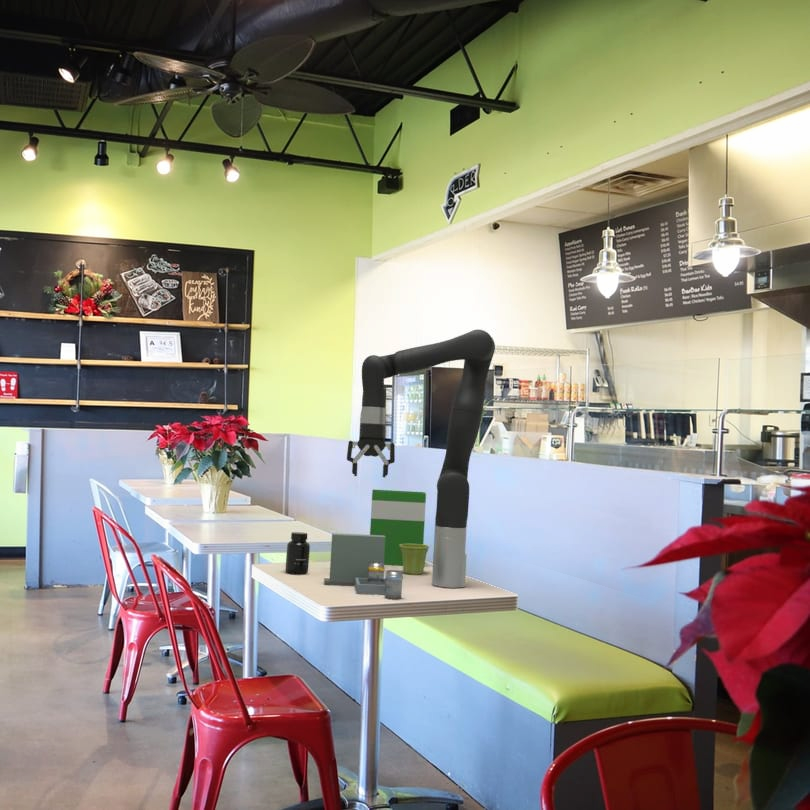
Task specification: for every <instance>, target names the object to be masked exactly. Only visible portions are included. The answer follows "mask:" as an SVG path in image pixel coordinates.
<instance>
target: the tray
mask: <svg viewBox="0 0 810 810" xmlns="http://www.w3.org/2000/svg"><path fill="white" fill-rule="evenodd" d="M367 583H368V578H355V586H354V590H355V593H356V594H357V595H375V594H379V596H381V595H382V596H385V584H386V579H385V578H384V582H383V585H371V584H367Z"/></svg>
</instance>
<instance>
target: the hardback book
mask: <svg viewBox="0 0 810 810" xmlns="http://www.w3.org/2000/svg"><path fill="white" fill-rule="evenodd" d="M426 501H427V493H426V491H425V492H424V491H408V490H392V489H390V490H389V489H387V490H386V489H372V492H371V512H370V528H369V529H370V530H369V535H384V536H385V552H384V563H385V564H384V566H394V567H403V559H402V551H401V547H400V546H399V545H400V544H422V545H424V540H425V539H424V538H425V521H426Z"/></svg>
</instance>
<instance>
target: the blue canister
mask: <svg viewBox="0 0 810 810" xmlns="http://www.w3.org/2000/svg"><path fill="white" fill-rule="evenodd" d="M403 573H404V571H401V570H396V569H395V570H393V569H391V570H389V569H388V570H386V571H385V576H384V579H386V584H385V595H384V599H386V600H391V599H392V601H394V600H396V601H399V600H401V599H402V594H403V593H402V591H403V580H404V574H403ZM398 599H399V600H398Z"/></svg>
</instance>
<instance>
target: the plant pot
mask: <svg viewBox="0 0 810 810" xmlns="http://www.w3.org/2000/svg"><path fill="white" fill-rule="evenodd" d="M399 546H400V547H401V551H402V559H403V566H402V569H403V571H402V572H403V573H404V574H409V575H420V574H421V575H422V574H424V569H425V563H426V557H427V553H428V551H429V549H430V545H428V544H423V545H422V544H400V545H399Z"/></svg>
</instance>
